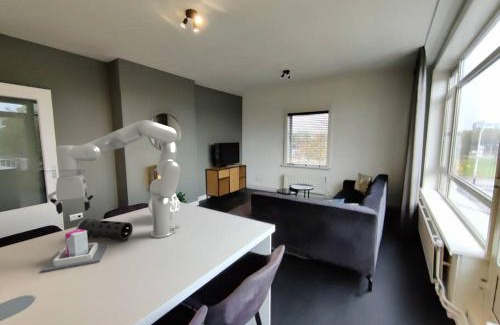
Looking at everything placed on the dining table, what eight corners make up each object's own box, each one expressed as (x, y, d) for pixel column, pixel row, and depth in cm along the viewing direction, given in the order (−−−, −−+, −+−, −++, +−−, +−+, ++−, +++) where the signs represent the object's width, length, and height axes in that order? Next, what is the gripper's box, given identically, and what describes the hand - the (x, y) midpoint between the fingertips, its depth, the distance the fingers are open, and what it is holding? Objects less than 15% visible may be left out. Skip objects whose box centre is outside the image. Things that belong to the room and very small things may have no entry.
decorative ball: (178, 212, 163) (177, 186, 161) (182, 221, 144) (181, 192, 142) (149, 216, 154) (147, 189, 153) (148, 226, 136) (147, 196, 134)
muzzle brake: (120, 245, 112) (119, 225, 111) (75, 240, 118) (73, 222, 116) (133, 237, 121) (132, 219, 120) (91, 233, 127) (90, 216, 126)
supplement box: (89, 253, 102) (87, 230, 100) (75, 260, 96) (73, 235, 95) (80, 251, 103) (78, 228, 102) (66, 258, 98) (64, 233, 97)
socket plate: (107, 246, 111) (106, 239, 110) (99, 262, 96) (98, 254, 96) (57, 254, 103) (57, 247, 103) (40, 273, 89) (39, 265, 88)
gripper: (95, 171, 102) (99, 206, 104) (48, 173, 96) (53, 211, 98) (91, 173, 96) (94, 211, 97) (40, 176, 89) (45, 217, 91)
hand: (74, 211), depth 98 cm, fingers open, 9 cm apart
